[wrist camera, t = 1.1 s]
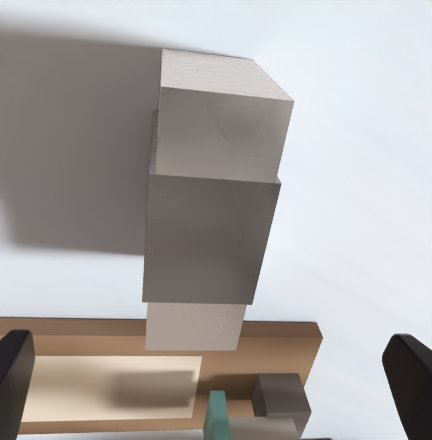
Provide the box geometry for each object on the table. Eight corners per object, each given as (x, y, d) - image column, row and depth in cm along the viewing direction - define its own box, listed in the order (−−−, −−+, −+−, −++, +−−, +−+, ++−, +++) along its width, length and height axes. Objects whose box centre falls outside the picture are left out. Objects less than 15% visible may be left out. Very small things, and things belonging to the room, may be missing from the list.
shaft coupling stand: (283, 410, 29) (310, 509, 24) (-116, 419, 25) (-192, 541, 19) (316, 322, 24) (358, 420, 19) (-168, 315, 20) (-286, 437, 15)
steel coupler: (222, 259, 21) (240, 350, 16) (146, 256, 20) (139, 350, 15) (257, 60, 16) (301, 101, 11) (156, 47, 15) (152, 85, 10)
